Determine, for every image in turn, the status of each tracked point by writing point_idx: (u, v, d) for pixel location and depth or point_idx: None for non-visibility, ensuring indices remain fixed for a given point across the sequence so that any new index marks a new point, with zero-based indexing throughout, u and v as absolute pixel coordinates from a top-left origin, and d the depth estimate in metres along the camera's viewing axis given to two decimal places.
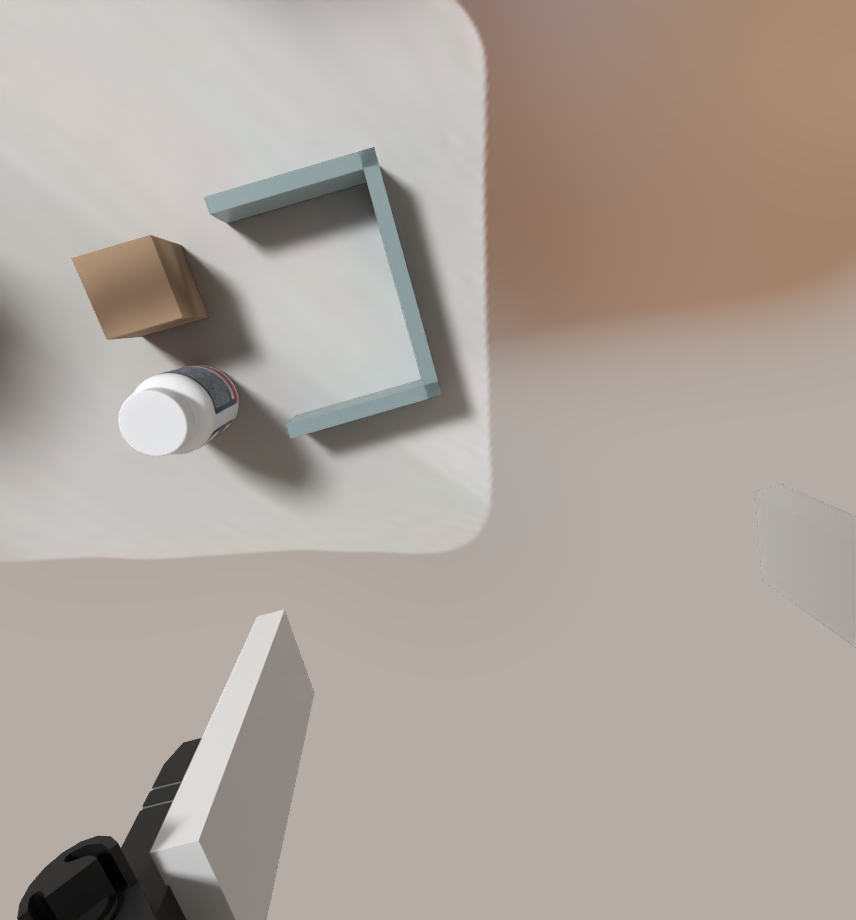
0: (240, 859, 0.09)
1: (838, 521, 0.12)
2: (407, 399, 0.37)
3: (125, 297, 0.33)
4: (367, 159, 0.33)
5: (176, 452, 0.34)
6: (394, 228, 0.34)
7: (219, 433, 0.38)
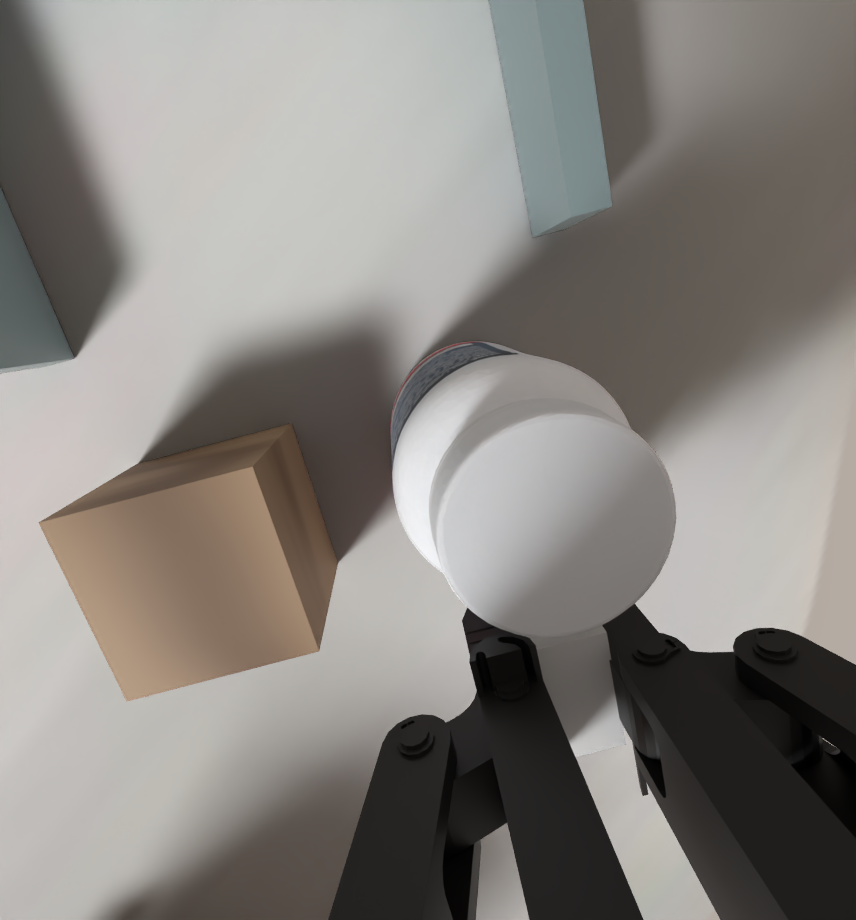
0: None
1: None
2: None
3: (208, 597, 0.13)
4: None
5: None
6: None
7: None
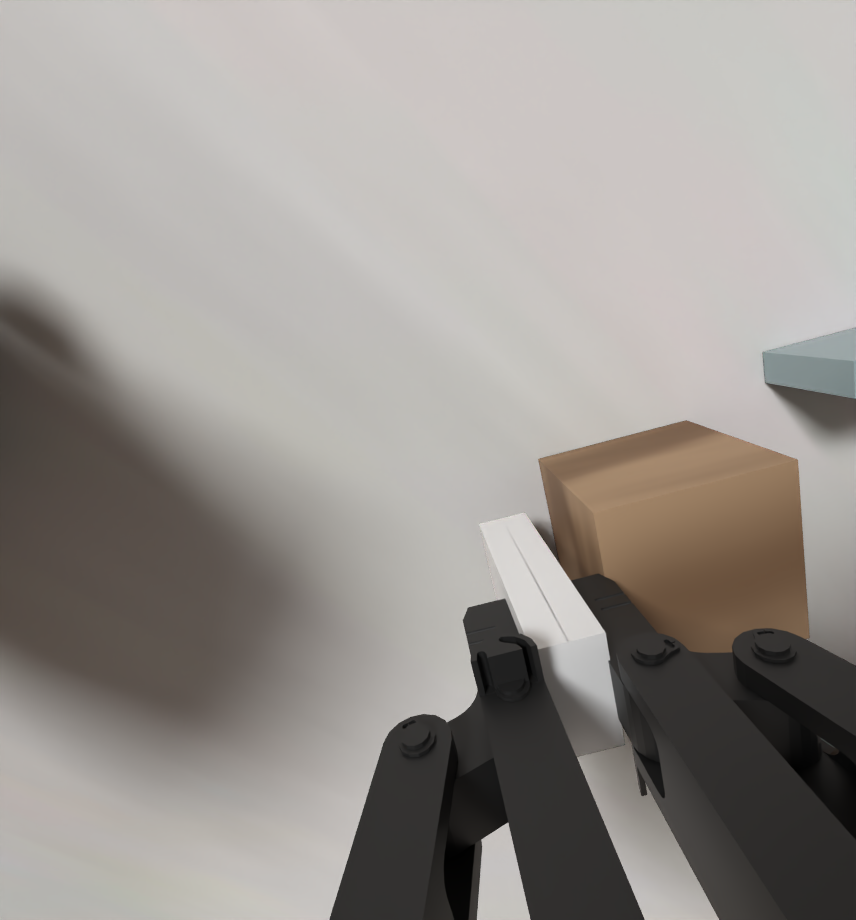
0: None
1: (530, 547, 0.14)
2: None
3: (695, 596, 0.13)
4: None
5: None
6: None
7: None
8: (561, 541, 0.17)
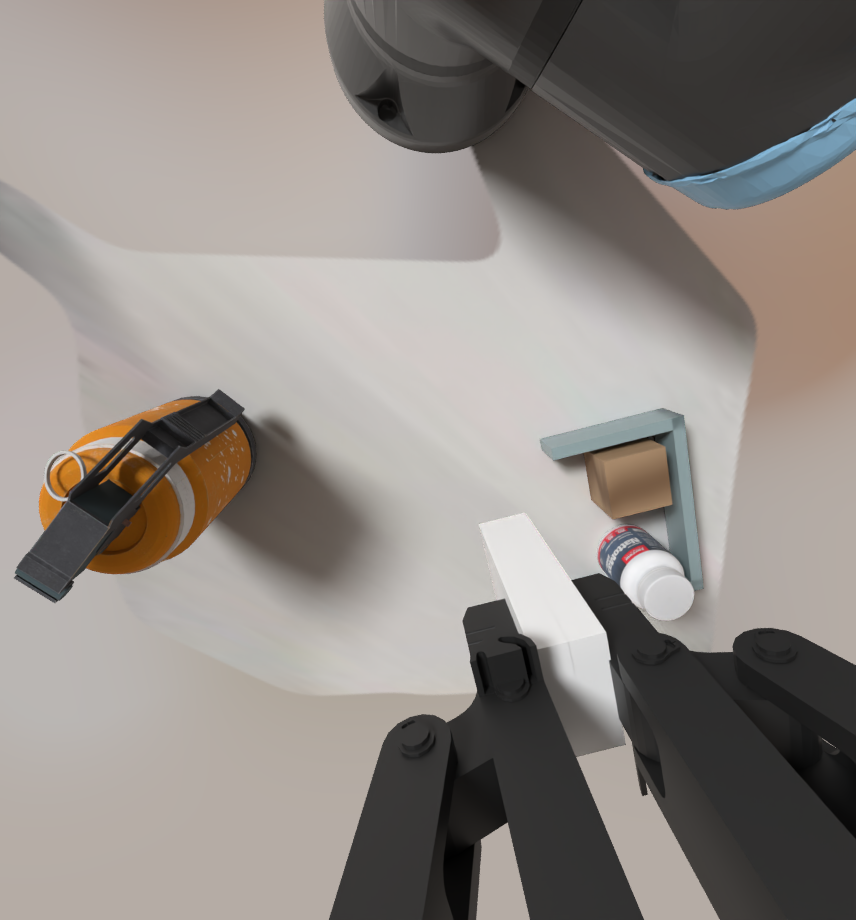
0: None
1: (530, 547, 0.14)
2: None
3: (635, 489, 0.43)
4: (677, 423, 0.43)
5: None
6: (688, 471, 0.44)
7: None
8: (590, 477, 0.47)
